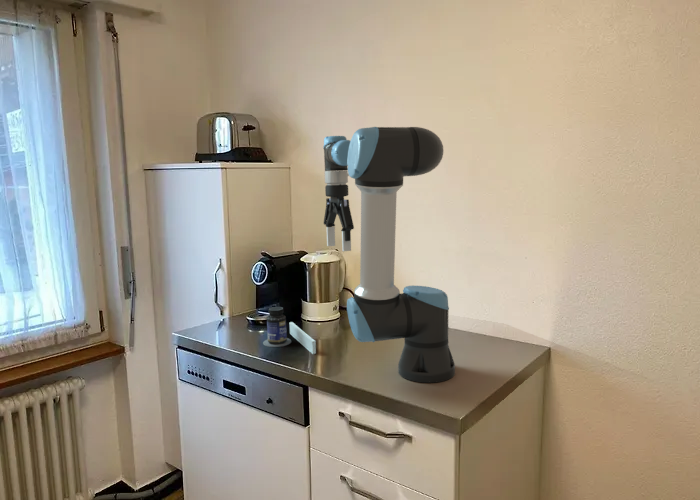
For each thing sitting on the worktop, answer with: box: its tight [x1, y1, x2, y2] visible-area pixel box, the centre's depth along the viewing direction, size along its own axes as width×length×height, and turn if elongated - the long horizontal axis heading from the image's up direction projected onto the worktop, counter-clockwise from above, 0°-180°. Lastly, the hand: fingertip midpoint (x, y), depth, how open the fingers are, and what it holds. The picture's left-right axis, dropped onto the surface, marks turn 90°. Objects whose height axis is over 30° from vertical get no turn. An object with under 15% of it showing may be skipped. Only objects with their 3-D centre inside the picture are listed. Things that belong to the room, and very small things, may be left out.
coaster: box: [262, 337, 292, 348], centre depth 173 cm, size 9×9×1 cm
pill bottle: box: [266, 306, 288, 344], centre depth 172 cm, size 6×6×11 cm
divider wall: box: [289, 321, 317, 355], centre depth 172 cm, size 23×1×4 cm, turn 24°
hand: (338, 248), depth 179 cm, fingers open, 13 cm apart
